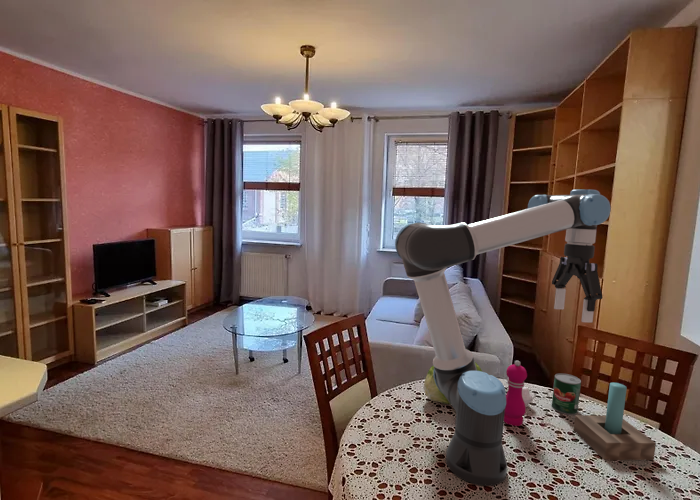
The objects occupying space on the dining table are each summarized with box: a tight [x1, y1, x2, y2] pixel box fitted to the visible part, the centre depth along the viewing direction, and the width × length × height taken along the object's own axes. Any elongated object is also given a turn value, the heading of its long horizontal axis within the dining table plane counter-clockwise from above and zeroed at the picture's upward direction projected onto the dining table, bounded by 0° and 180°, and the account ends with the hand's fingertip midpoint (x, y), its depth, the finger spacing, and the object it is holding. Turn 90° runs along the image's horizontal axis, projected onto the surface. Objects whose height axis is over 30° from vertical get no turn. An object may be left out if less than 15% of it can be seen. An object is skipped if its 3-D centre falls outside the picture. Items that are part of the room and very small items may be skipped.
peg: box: [605, 382, 627, 434], centre depth 113 cm, size 4×4×18 cm
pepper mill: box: [504, 360, 528, 427], centre depth 124 cm, size 7×7×20 cm
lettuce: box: [423, 361, 483, 406], centre depth 136 cm, size 16×21×15 cm
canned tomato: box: [551, 373, 582, 416], centre depth 133 cm, size 8×8×11 cm
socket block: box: [573, 414, 657, 461], centre depth 114 cm, size 14×14×5 cm
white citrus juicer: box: [522, 385, 533, 408], centre depth 135 cm, size 6×6×7 cm
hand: (572, 315), depth 116 cm, fingers open, 13 cm apart
